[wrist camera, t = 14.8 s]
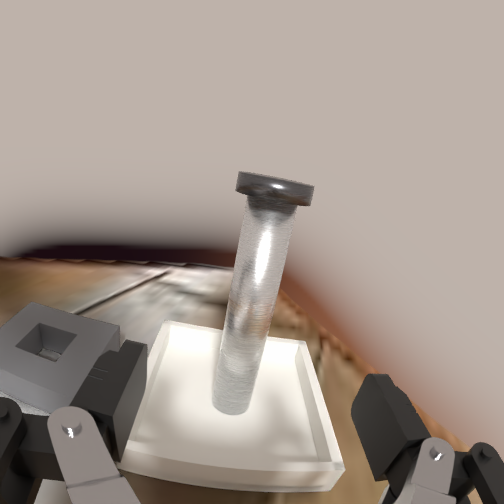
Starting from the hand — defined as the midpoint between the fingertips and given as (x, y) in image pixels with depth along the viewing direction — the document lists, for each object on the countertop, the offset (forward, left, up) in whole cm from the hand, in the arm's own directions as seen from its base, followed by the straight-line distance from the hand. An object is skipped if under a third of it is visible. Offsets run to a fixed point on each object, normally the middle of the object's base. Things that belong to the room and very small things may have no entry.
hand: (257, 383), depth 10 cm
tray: (+1, +11, -13) cm, 17 cm away
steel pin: (+1, +11, -12) cm, 16 cm away
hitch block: (-16, +11, -13) cm, 24 cm away
